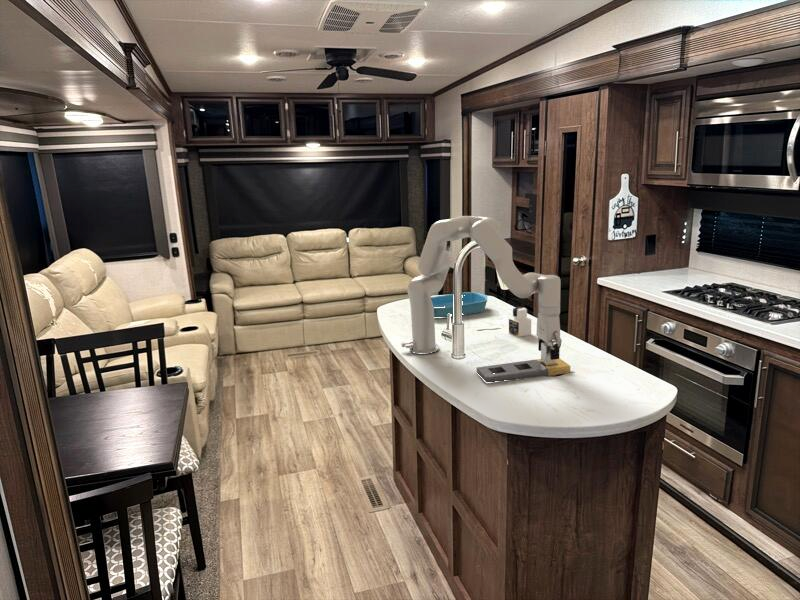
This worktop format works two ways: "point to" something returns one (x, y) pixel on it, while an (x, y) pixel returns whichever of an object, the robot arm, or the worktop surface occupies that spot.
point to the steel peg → (546, 355)
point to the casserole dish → (470, 305)
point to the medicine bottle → (520, 322)
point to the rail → (521, 370)
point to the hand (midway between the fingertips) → (548, 354)
